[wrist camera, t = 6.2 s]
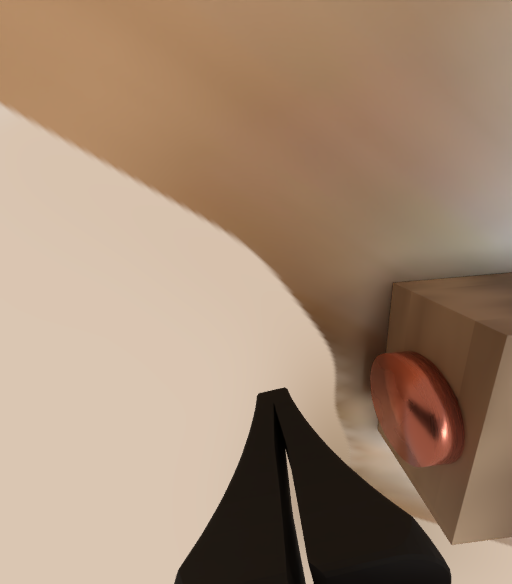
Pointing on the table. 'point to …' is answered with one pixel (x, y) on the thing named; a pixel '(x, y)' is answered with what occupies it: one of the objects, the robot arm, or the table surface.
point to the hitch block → (464, 396)
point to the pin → (417, 409)
